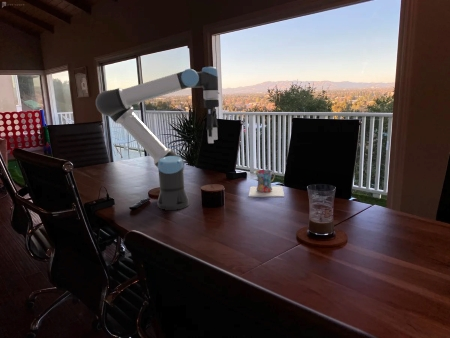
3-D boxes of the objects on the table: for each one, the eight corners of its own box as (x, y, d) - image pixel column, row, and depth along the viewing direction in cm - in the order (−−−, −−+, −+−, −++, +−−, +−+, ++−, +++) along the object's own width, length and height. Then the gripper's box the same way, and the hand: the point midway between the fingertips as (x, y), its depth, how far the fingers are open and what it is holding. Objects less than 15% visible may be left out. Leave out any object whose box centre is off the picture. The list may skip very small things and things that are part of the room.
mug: (262, 194, 167) (262, 174, 165) (252, 190, 175) (251, 171, 173) (280, 190, 172) (280, 171, 170) (270, 186, 180) (269, 168, 178)
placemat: (284, 196, 163) (284, 195, 163) (248, 196, 165) (248, 195, 165) (282, 187, 180) (282, 186, 180) (250, 187, 183) (250, 186, 183)
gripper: (214, 99, 148) (216, 144, 153) (221, 99, 173) (223, 138, 177) (198, 99, 149) (201, 144, 154) (208, 99, 173) (209, 138, 178)
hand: (213, 141), depth 165 cm, fingers open, 13 cm apart
